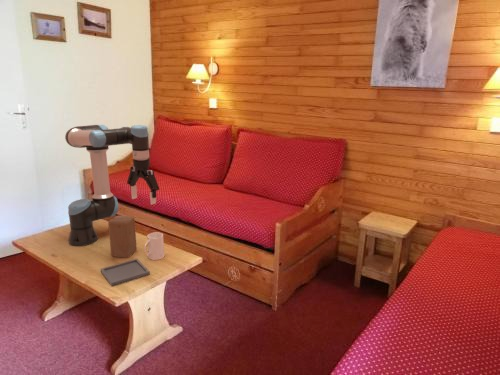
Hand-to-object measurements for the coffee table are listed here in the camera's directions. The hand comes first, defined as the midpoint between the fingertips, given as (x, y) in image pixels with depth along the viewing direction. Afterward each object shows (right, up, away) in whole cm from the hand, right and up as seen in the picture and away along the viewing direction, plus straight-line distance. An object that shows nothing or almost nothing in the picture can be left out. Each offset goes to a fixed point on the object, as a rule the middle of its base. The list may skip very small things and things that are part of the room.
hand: (143, 201), depth 182 cm
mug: (+2, -30, +13) cm, 33 cm away
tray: (-8, -35, -4) cm, 36 cm away
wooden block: (-15, -29, +17) cm, 37 cm away
